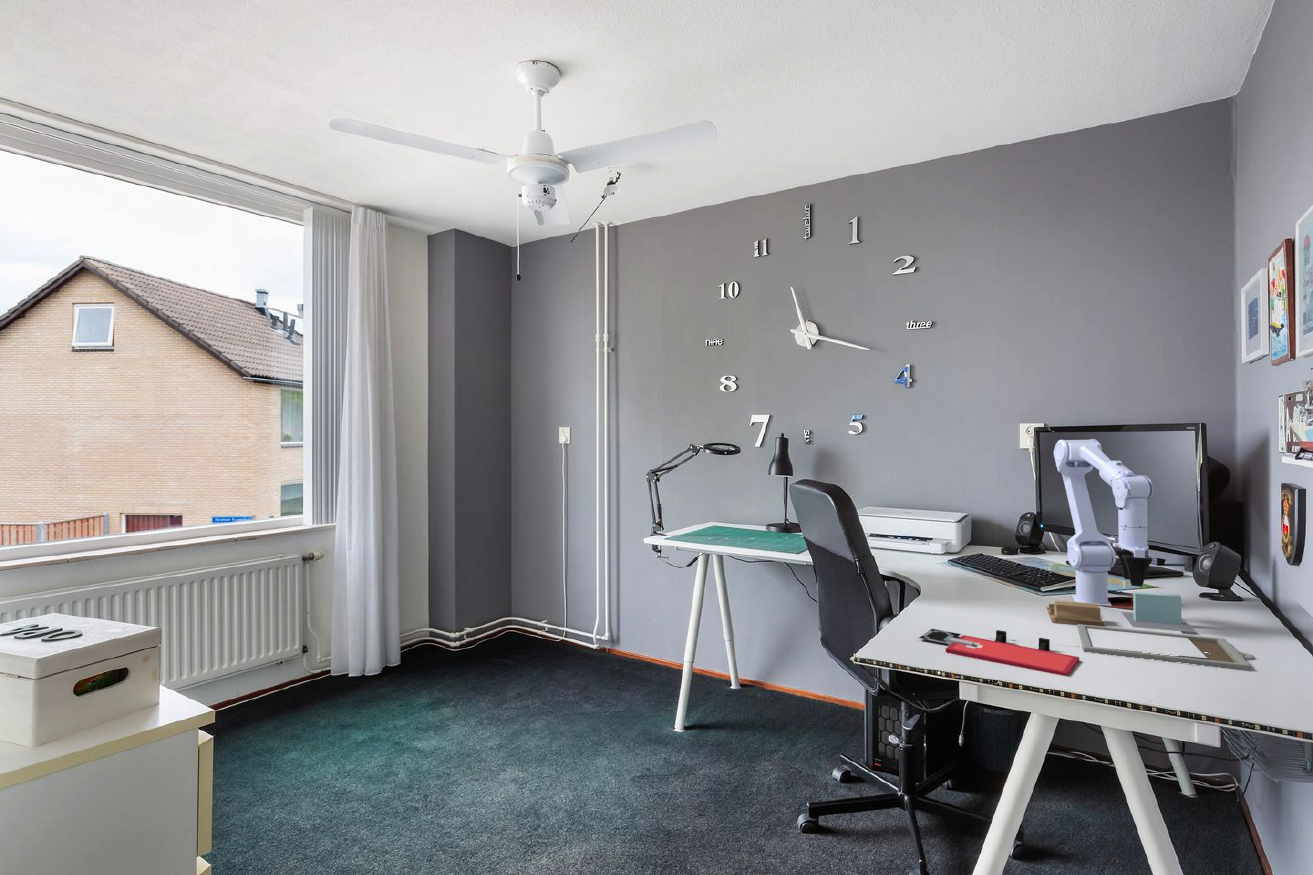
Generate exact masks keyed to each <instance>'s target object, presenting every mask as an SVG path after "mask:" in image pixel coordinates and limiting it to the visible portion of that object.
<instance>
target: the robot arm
mask: <svg viewBox="0 0 1313 875" xmlns="http://www.w3.org/2000/svg"><path fill="white" fill-rule="evenodd" d="M1102 450H1103V449H1102V445H1101V442H1099V441H1098V440H1097V439H1095V438H1094V439H1093V438H1090V439H1069V440H1068V439H1059V440H1058V441H1057V442H1056V443H1055V446H1054V449H1053V457H1054V462H1055V466H1056V469H1057V473H1060V474H1061V475H1062V480H1063V483H1064V488H1065V493H1066V496H1067V501H1068V506H1069V509H1070V515H1071V518H1072V524H1073V528H1074V533H1075V534H1074V535H1073V536H1071V537H1070V538H1069V539H1068V541H1066V547H1067V553H1066V554H1067V560H1068V563H1069V564H1070V565H1071V566H1072V568H1073V569H1075V594H1072V595H1071V596H1072V598H1073V599H1074V602H1082V603H1095V604H1098V605H1099V606H1106V607H1112V604H1111V601H1109V599H1108V598H1109V592H1108V591H1109V589H1108V588H1109V585H1108V584H1109V583H1108V581H1109V580H1108V579H1109V578H1108V577H1109V576H1108V575H1109V574H1108V571H1110V572H1111V568H1113V566H1114V565H1115V564H1116V562H1117V557H1118V560H1119V563H1120V566H1121V570H1122V575H1123V578H1124V580H1129V582H1130V585H1131V586H1132V587H1141V588H1142V587H1143V585H1144V584H1145V583H1144V582H1145V578H1146V573H1147V572H1148V569H1149V567H1150V565H1151V564H1152V562H1153V558H1152V557H1147V556H1146V551H1148V549H1149V544H1148V500H1150V499H1151V498H1152V496H1153V493H1154V485H1153V482H1152V481H1151V479H1150V478H1149V477H1148V476H1147V475H1138V474H1135V473H1134V471H1132V470H1130V469H1129V468H1128V467H1126V466H1125V465H1124V464H1123V462H1122V461H1121V460H1111V459H1110V458H1109V457H1108V456H1107V455H1106V454H1105V452H1103V451H1102ZM1094 468H1095V469H1097V470H1098V471H1099V477H1100V478H1101V479H1102V480H1103V481H1104V482H1105V483H1107V485H1109V487H1111V490H1112V494H1113V496H1114V499H1115V506H1116V507H1117V509H1118V511H1117V514H1118V520H1117V521H1118V529H1117V530H1118V531H1117V533H1118V542H1113V543H1112V544H1111V542H1110V539H1109V537H1107V536H1106V535H1104V534H1102V532H1100V531H1099V530H1098V527H1097V523H1096V519H1095V515H1094V510H1093V506H1092V503H1091V498H1090V494H1089V490H1088V487H1087V486H1088V485H1087V482H1086V478H1085V476H1086V474H1088V473H1090V472H1092V471H1093V469H1094ZM1114 548H1117V549H1114ZM1118 548H1119V549H1118ZM1116 555H1117V556H1116ZM1108 601H1109V602H1108Z"/></svg>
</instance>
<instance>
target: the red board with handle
mask: <svg viewBox="0 0 1313 875" xmlns="http://www.w3.org/2000/svg"><path fill="white" fill-rule="evenodd" d="M958 637H959V638H958ZM918 639H923V640H926V641H927V640H928V641H933V642H937V643H943V644H948V646H947V647H945V653H946V652H947V653H946V654H949V653H951V654H950V655H954V654H955V656H960V657H965V658H972V659H976V660H980V661H985V662H992V663H995V664H1002V665H1007V666H1012V667H1016V668H1023V669H1027V670H1032V671H1036V672H1037V671H1038V672H1043V673H1047V674H1053V675H1058V676H1063V677H1069V675H1070V674H1071V673H1072V671H1073V670H1074V668H1075V667H1076V666H1077V665H1078V663H1079V662H1080V656H1076V655H1075V656H1074V655H1069V654H1065V653H1060V652H1055V651H1050V650H1051V649H1050V648H1051V646H1050V641H1051V640H1050V639H1049V638H1044V637H1038V648H1032V647H1028V646H1023V645H1017V644H1013V643H1007V631H1004V630H999V629H997V630H996V631H995V639H994V640H991V639H986V638H980V637H975V636H970V635H965V634H962V633H958V632H951V631H947V630H946V631H945V630H941V629H936V628H931V629H929V630H928V631H926V632H925V633H923V634H922V635H921V636H919V637H918ZM1076 664H1077V665H1076Z"/></svg>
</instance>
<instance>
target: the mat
mask: <svg viewBox="0 0 1313 875" xmlns="http://www.w3.org/2000/svg"><path fill="white" fill-rule="evenodd" d="M1121 614H1122V615H1123V616H1124V617H1125V618H1126V620H1127V621H1128V623H1129V625H1131V627H1133V628H1138V629H1139V628H1140V629H1141V628H1142V629H1151V630H1164V631H1175V632H1180V633H1181V634H1185V633H1186V634H1185V635H1198V632H1197V630H1195V629H1194V628H1193V627H1192V626H1191V625H1190V624H1189V623H1188V622H1187V621H1186V620H1185V619H1183V618H1182V617H1181V624H1170V623H1156V622H1142V621H1135V620H1134V618H1133V612H1127V611H1121Z"/></svg>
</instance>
